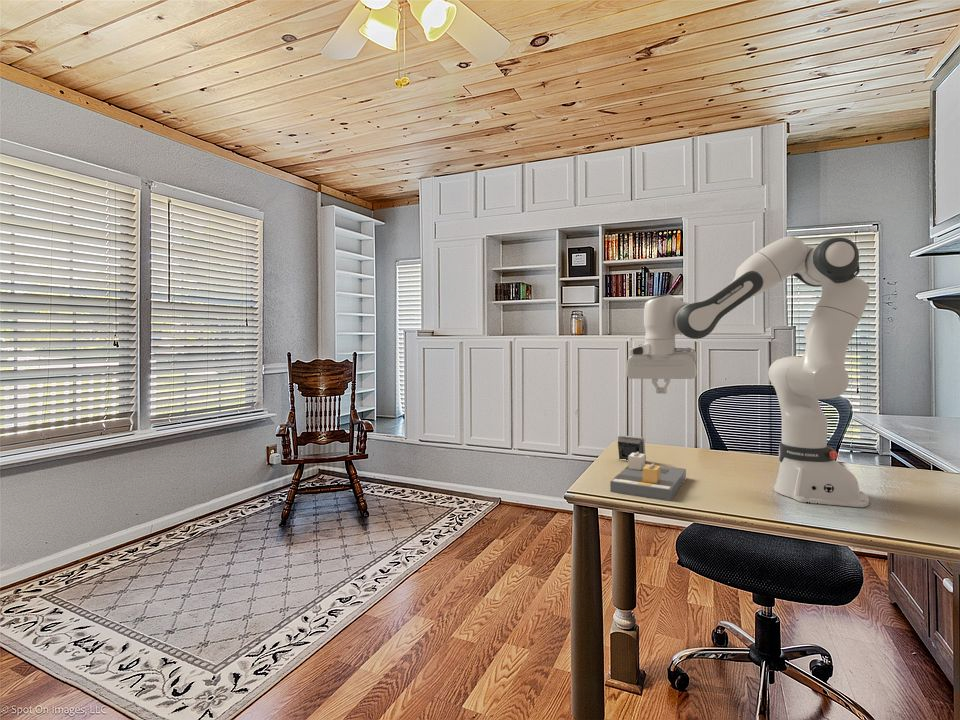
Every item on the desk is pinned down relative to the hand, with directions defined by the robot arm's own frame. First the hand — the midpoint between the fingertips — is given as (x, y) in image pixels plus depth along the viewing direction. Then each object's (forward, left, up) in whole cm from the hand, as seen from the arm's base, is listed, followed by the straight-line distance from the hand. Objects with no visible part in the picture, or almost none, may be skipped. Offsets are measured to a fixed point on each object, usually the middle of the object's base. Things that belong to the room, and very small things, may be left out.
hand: (661, 393), depth 161 cm
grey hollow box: (+14, -20, -28) cm, 38 cm away
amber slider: (+1, +10, -25) cm, 27 cm away
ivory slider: (+8, -2, -25) cm, 26 cm away
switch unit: (+2, +4, -28) cm, 28 cm away
